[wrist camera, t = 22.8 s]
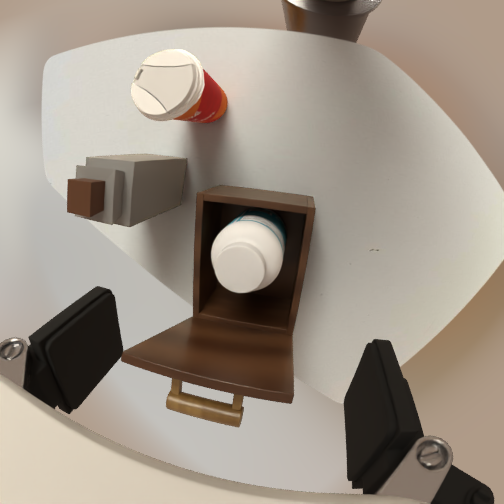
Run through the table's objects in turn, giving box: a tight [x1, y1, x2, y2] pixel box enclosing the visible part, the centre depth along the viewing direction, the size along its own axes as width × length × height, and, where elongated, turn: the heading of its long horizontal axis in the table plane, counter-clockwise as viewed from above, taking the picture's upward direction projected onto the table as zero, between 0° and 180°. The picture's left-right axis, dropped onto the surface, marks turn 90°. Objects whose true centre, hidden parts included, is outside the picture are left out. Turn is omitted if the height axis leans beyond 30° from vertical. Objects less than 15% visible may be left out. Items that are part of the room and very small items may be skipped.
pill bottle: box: [211, 207, 287, 293], centre depth 32 cm, size 8×7×14 cm
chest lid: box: [121, 317, 294, 427], centre depth 26 cm, size 16×13×5 cm
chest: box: [193, 185, 316, 335], centre depth 36 cm, size 16×13×9 cm
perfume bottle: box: [67, 154, 187, 227], centre depth 31 cm, size 7×7×18 cm
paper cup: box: [131, 49, 227, 123], centre depth 28 cm, size 8×8×14 cm
